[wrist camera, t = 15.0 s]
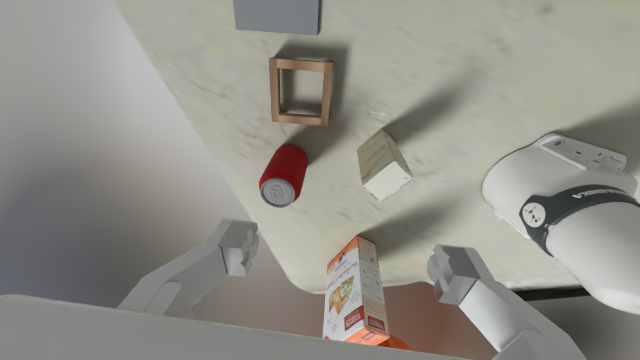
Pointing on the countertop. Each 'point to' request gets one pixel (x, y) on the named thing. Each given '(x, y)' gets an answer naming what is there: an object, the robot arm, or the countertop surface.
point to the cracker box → (355, 296)
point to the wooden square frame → (274, 71)
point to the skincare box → (382, 166)
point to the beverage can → (283, 176)
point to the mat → (277, 15)
